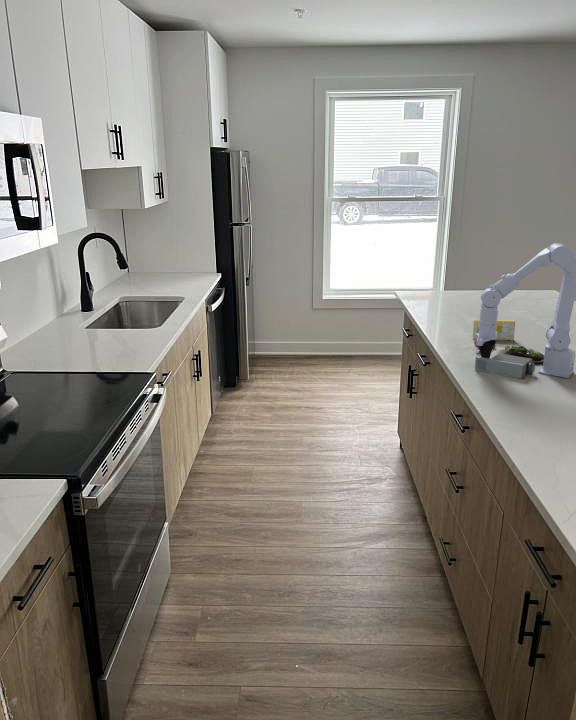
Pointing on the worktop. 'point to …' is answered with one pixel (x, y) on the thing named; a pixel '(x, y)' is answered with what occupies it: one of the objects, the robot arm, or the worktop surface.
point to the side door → (500, 367)
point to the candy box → (499, 329)
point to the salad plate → (524, 353)
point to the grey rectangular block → (521, 360)
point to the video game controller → (477, 345)
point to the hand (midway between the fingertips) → (485, 360)
